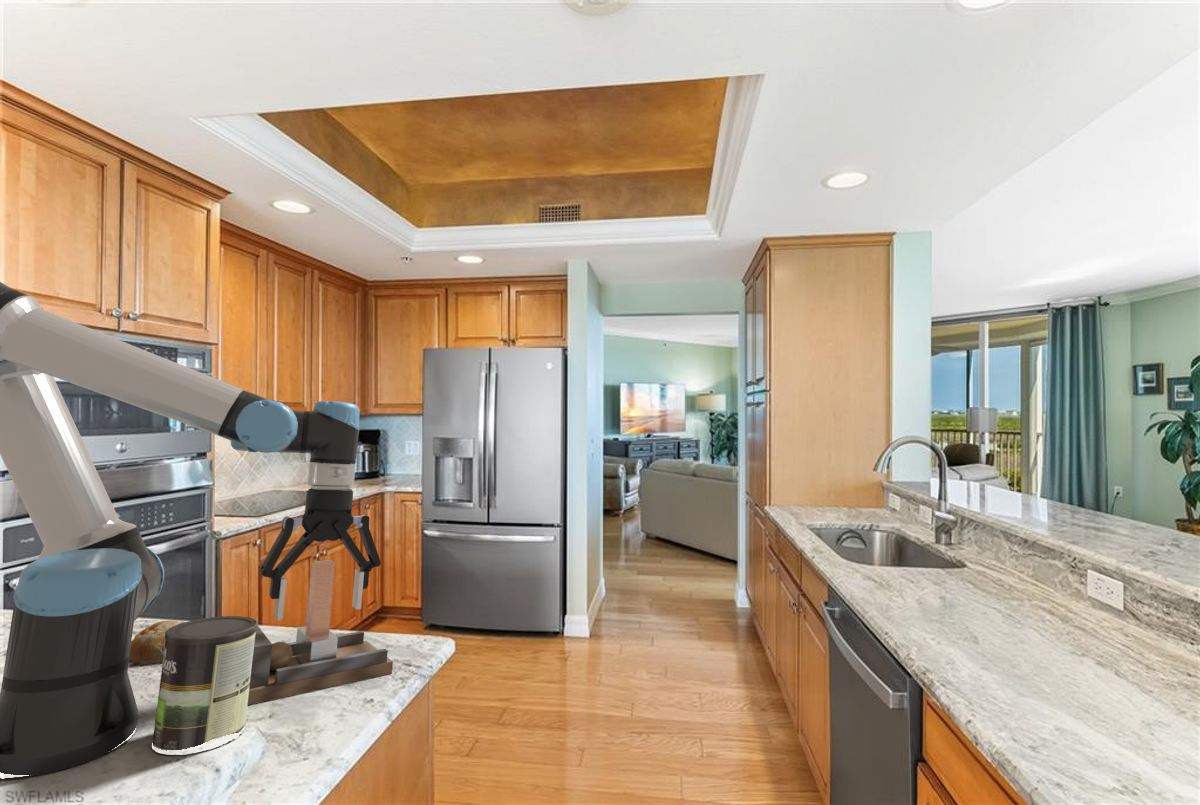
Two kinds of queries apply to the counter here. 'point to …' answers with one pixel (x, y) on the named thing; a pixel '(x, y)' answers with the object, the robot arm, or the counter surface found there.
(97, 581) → the robot arm
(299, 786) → the counter surface
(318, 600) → the sliding jaw
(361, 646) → the base
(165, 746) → the coffee can
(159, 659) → the bread roll
